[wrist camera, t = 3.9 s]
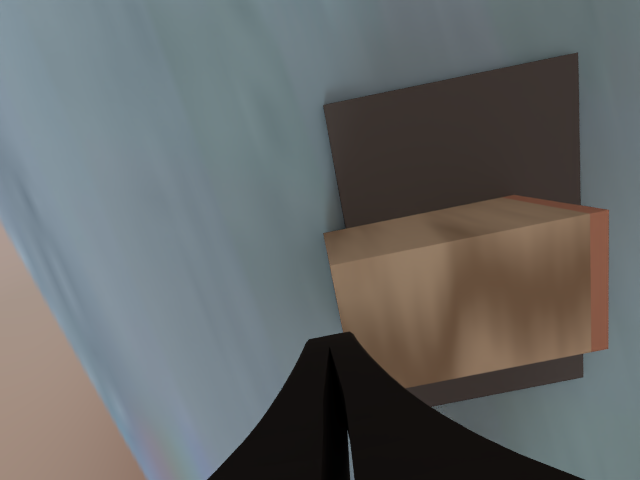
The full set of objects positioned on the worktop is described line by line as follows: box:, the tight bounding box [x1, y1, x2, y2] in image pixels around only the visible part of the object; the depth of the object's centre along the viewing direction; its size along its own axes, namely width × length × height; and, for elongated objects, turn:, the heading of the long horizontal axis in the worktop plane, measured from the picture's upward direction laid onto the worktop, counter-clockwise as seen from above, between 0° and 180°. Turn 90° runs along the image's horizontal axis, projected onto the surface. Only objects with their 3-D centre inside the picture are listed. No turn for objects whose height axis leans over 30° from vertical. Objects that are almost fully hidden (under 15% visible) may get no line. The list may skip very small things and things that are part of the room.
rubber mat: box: [323, 53, 583, 407], centre depth 16 cm, size 16×11×1 cm
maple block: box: [323, 195, 609, 388], centre depth 14 cm, size 5×5×9 cm
